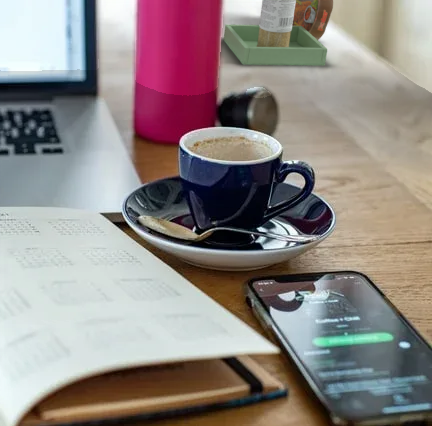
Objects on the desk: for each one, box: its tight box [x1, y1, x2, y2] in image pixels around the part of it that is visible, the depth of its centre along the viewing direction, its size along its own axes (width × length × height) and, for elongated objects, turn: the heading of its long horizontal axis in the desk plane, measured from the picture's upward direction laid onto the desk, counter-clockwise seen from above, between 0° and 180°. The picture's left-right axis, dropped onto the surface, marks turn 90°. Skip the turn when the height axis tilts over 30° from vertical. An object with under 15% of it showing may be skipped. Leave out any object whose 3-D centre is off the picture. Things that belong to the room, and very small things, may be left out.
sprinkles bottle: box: [256, 0, 296, 47], centre depth 118 cm, size 5×5×13 cm
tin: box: [292, 0, 334, 41], centre depth 129 cm, size 15×3×8 cm, turn 10°
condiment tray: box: [223, 24, 328, 67], centre depth 121 cm, size 11×11×3 cm
